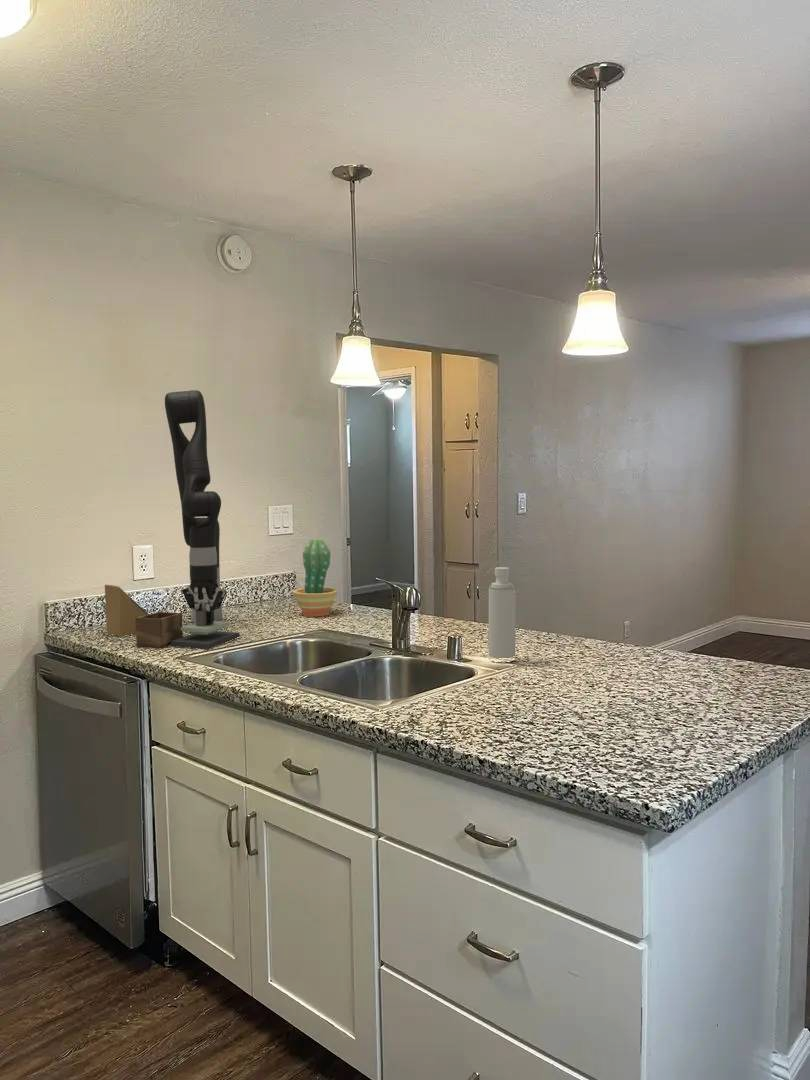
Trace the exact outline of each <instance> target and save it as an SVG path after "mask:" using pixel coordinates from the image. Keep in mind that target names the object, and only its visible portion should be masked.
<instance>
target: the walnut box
mask: <svg viewBox="0 0 810 1080" xmlns="http://www.w3.org/2000/svg"><path fill="white" fill-rule="evenodd" d="M181 627H183V613H182V612H168V611H167V612H166V611H165V612H164V611H157V612H153V613H148V615H144V616H141V617H137V618H136V635H135V637H136V638H135V641H136V647H137V646H139V648H148V647H153V648H152V649H160V648H161V649H164V648H166V647H165V646H167V647H169V646H168V645H170V646H171V642H170V641H172V640H175V639H179V638H182V637H184V636H183V632H184V631H181ZM163 647H164V648H163Z"/></svg>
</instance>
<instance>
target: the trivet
mask: <svg viewBox="0 0 810 1080" xmlns="http://www.w3.org/2000/svg"><path fill="white" fill-rule="evenodd" d="M237 637H240V632H235V631H234V632H233V631H222V630H219V631H216V632H213V633H210V634H207V635H201V634H188V635H186V636H183V637H182V638H179V639H175V640H172V641H170V642H171V645H170V647H171V646H179V647H178V648H183V647H190V648H189V649H195V648H200V649H199V650H210V648H211V649H213V648H216V647H218V646H217V645H219V646H221V645H220V644H222V643H224V644H226V643H225V642H227V641H230V640H232V639H235V638H237ZM235 640H236V639H235ZM232 641H233V640H232ZM230 642H231V641H230ZM227 643H228V642H227ZM222 645H223V644H222ZM215 646H216V647H215ZM212 647H213V648H212Z"/></svg>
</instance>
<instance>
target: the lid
mask: <svg viewBox="0 0 810 1080" xmlns="http://www.w3.org/2000/svg"><path fill="white" fill-rule="evenodd" d="M206 612H207V610H206V609H204V610H200V611H197V612H196V623H193V622H192V623H190V624H186V625H182V627H181V631H183V632H188V635H191V634H201V635H207V634H210V633H213V632H216V631H222V629H223V628H226V627H228V626H229V625H230V624H229V623H230V622H229V621H214V622H213V624H211V625H207V620H206Z"/></svg>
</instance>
